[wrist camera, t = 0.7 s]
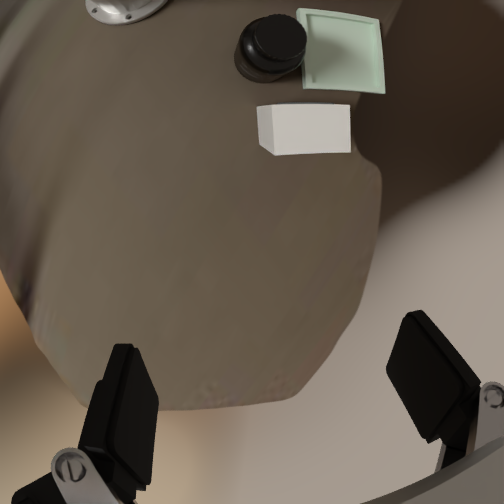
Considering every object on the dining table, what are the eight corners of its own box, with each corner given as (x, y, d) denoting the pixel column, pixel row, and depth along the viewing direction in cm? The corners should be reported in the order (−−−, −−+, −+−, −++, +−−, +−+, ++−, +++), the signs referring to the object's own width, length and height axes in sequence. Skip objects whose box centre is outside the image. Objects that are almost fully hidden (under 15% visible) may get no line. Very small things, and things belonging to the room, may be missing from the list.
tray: (296, 11, 28) (299, 8, 26) (373, 21, 29) (378, 19, 27) (303, 89, 33) (306, 88, 32) (379, 93, 34) (385, 93, 33)
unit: (256, 105, 33) (271, 102, 25) (316, 103, 34) (349, 103, 25) (259, 146, 36) (274, 158, 27) (318, 143, 37) (350, 155, 28)
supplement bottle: (295, 73, 32) (330, 59, 21) (246, 91, 33) (261, 81, 22) (274, 28, 29) (300, -2, 18) (224, 46, 29) (229, 17, 19)
